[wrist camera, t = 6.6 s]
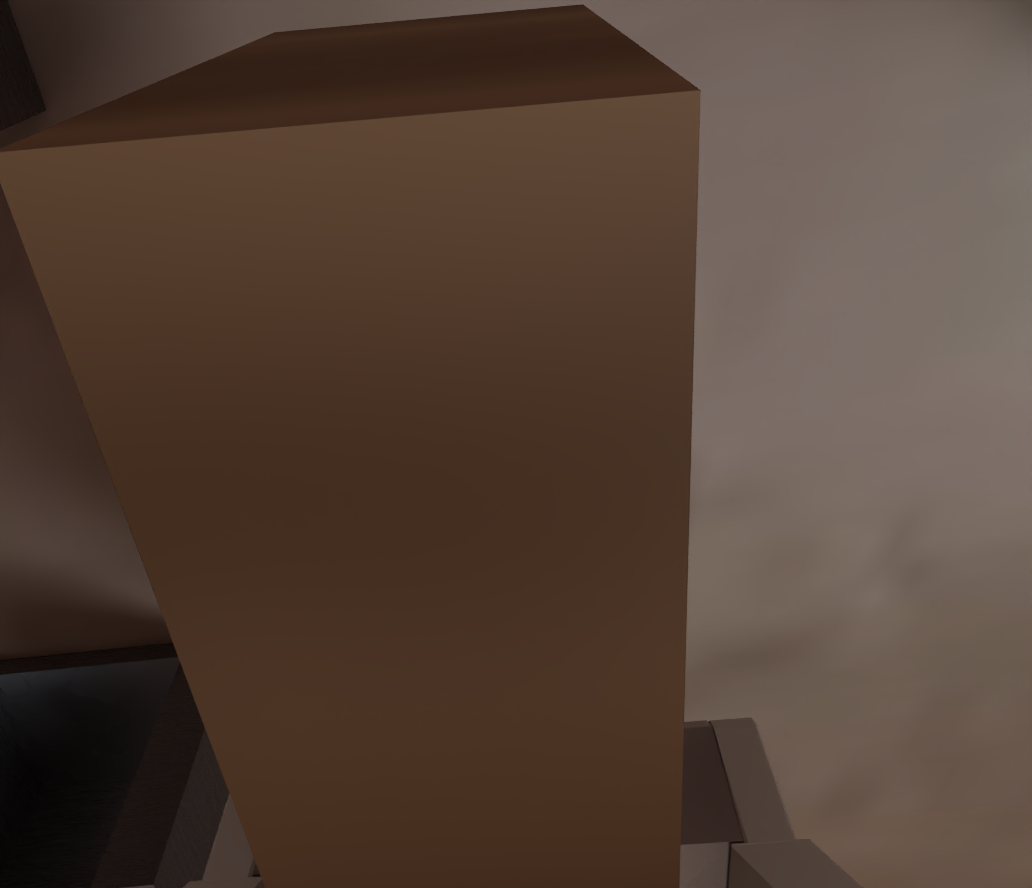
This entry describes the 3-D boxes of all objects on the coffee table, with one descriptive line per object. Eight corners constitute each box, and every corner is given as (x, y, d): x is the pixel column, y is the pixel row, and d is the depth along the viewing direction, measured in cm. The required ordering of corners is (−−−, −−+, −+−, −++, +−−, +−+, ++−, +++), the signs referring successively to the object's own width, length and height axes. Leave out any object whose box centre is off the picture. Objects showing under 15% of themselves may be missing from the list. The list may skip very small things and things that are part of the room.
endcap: (285, 777, 24) (230, 1028, 19) (26, 802, 25) (-103, 1059, 19) (235, 637, 22) (153, 884, 16) (-57, 666, 22) (-237, 922, 16)
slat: (616, 945, 16) (667, 1355, 12) (459, 956, 16) (445, 1368, 12) (583, 4, 8) (699, 89, 4) (274, 32, 8) (-12, 152, 4)
